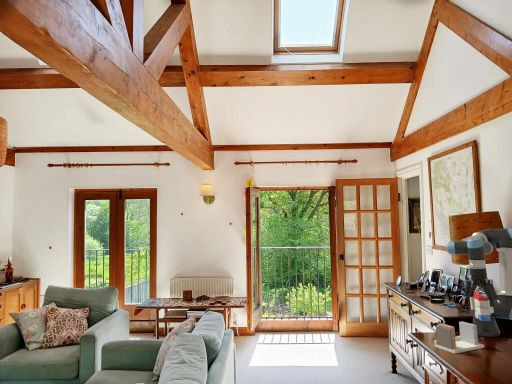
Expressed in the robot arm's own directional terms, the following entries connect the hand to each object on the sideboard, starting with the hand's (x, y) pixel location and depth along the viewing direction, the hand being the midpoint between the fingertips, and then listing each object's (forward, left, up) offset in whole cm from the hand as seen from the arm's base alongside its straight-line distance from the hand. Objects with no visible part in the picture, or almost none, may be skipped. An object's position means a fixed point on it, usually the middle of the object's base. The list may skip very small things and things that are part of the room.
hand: (482, 311), depth 194 cm
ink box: (0, 0, -4) cm, 4 cm away
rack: (+4, -13, -21) cm, 25 cm away
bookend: (-4, -13, -20) cm, 24 cm away
